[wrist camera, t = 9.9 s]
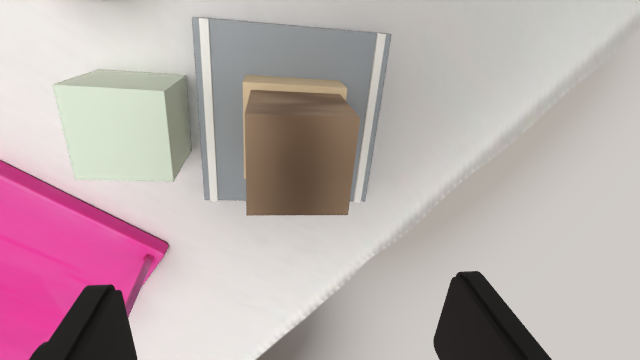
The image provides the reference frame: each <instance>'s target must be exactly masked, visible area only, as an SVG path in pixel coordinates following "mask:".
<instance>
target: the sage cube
mask: <svg viewBox="0 0 640 360" xmlns="http://www.w3.org/2000/svg"><path fill="white" fill-rule="evenodd" d="M53 89H54V93H55V98H56V102H57V106H58V110H59V114H60V118H61V123H62V127H63V131H64V135H65V139H66V143H67V148H68V152H69V156H70V160H71V164H72V168H73V173H74V177H75V180H118V181H166V182H174V180H175V178H176V176H177V175H178V173H179V171H180V169H181V168H182V166H183V164H184V162H185V161H186V159H187V157H188V155H189V154H190V152H191V137H190V124H189V111H188V98H187V85H186V75H176V74H161V73H146V72H131V71H116V70H102V69H98V70H95V71H92V72H89V73H86V74H83V75H80V76H77V77H74V78H71V79H68V80H65V81H62V82H59V83H56V84H53Z"/></svg>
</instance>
